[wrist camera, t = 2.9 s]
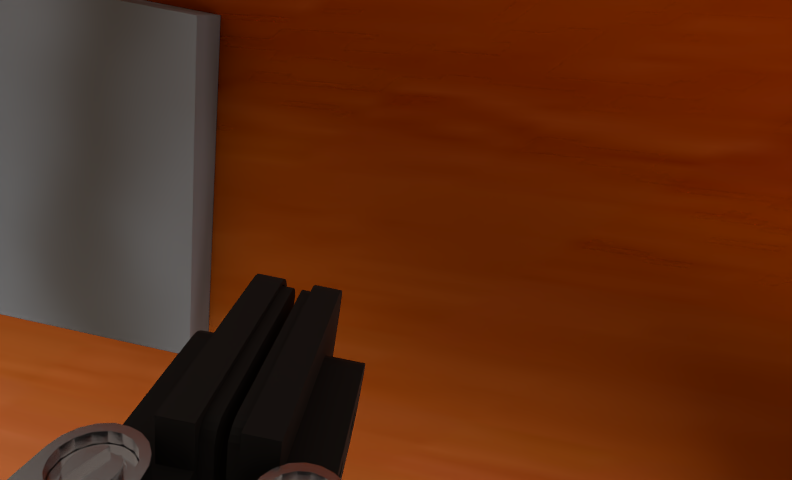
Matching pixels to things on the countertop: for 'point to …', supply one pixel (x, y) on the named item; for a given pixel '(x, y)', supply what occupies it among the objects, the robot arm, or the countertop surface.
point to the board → (108, 167)
